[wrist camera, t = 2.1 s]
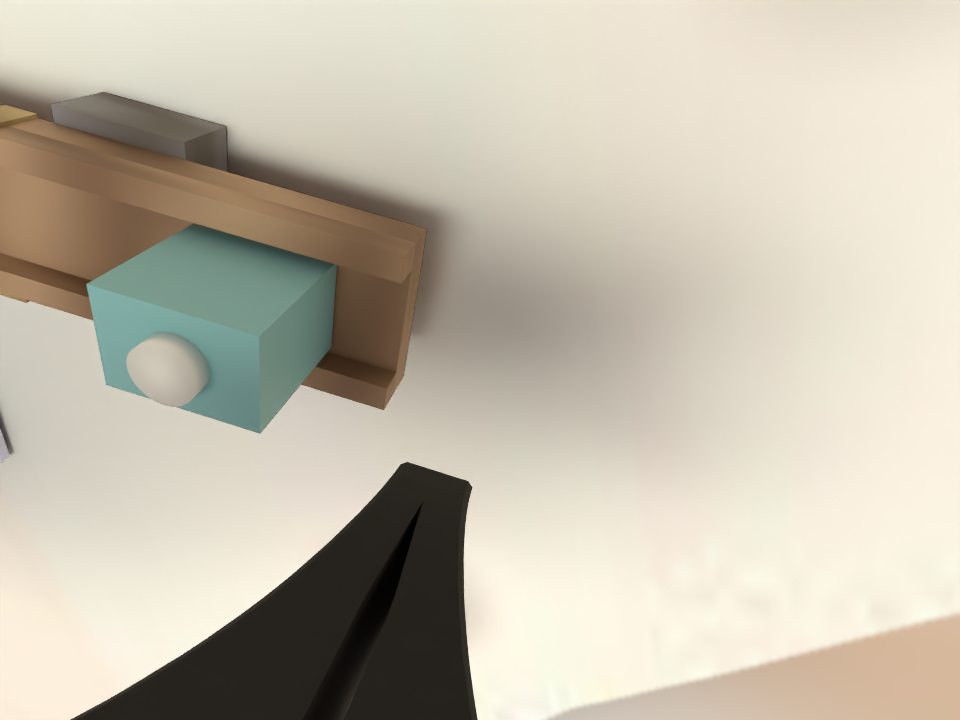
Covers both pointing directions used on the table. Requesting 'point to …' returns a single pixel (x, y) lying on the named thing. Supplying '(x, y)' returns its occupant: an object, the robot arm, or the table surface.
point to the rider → (214, 324)
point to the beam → (178, 204)
